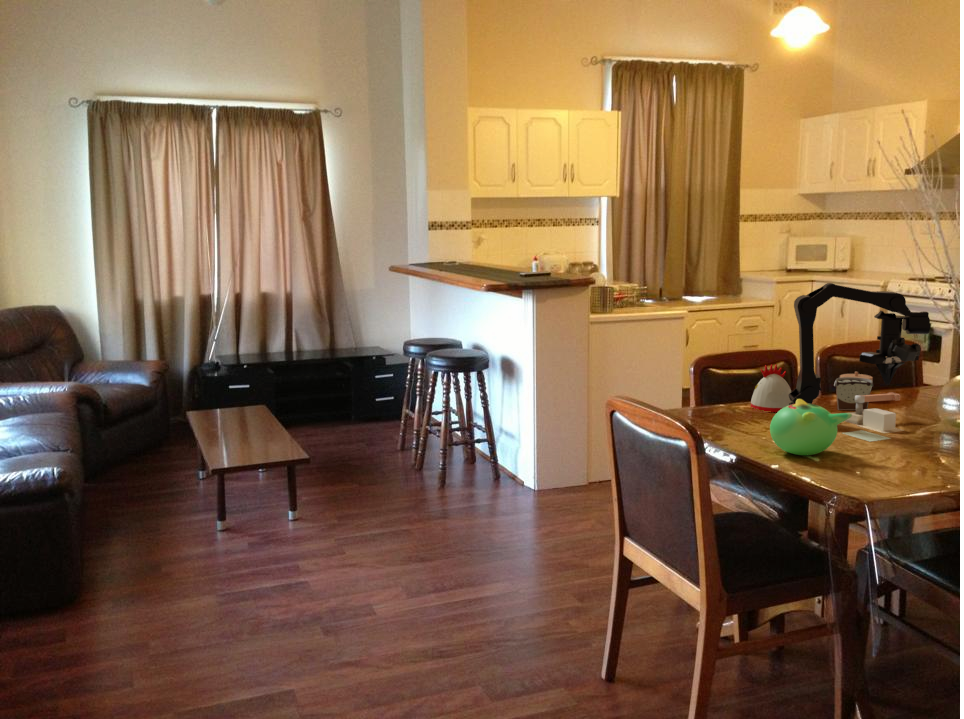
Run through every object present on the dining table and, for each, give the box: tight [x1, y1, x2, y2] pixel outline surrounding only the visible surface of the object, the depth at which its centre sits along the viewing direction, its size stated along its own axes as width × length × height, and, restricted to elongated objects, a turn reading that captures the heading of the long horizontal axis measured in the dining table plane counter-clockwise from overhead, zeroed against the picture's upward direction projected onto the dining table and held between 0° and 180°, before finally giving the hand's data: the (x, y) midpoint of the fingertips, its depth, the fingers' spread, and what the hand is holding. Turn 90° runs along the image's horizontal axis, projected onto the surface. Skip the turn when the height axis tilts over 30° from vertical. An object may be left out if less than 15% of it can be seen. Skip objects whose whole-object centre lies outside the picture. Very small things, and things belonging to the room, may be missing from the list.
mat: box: [841, 429, 892, 443], centre depth 260 cm, size 8×11×1 cm
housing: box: [844, 402, 905, 434], centre depth 271 cm, size 8×16×7 cm, turn 22°
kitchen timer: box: [750, 364, 792, 413], centre depth 299 cm, size 14×14×15 cm
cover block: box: [862, 407, 897, 431], centre depth 269 cm, size 5×8×5 cm, turn 22°
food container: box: [833, 377, 874, 411], centre depth 298 cm, size 12×6×10 cm, turn 84°
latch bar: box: [855, 392, 901, 403], centre depth 277 cm, size 4×14×2 cm, turn 104°
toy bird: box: [769, 399, 852, 456], centre depth 242 cm, size 18×17×15 cm
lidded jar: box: [839, 371, 874, 392], centre depth 314 cm, size 11×11×9 cm
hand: (887, 384), depth 272 cm, fingers closed
